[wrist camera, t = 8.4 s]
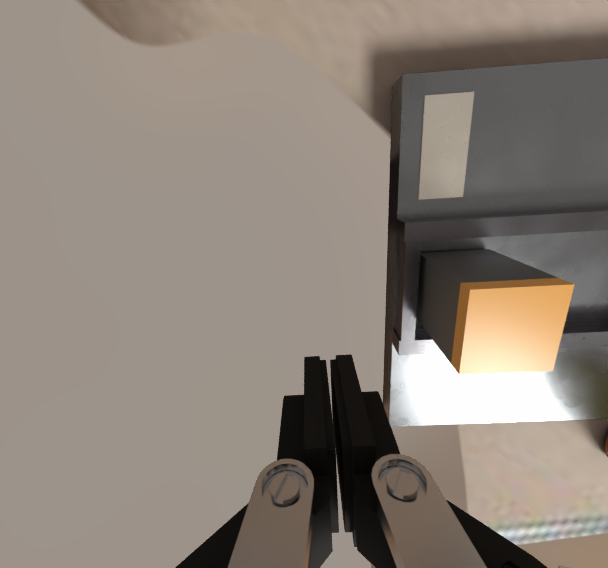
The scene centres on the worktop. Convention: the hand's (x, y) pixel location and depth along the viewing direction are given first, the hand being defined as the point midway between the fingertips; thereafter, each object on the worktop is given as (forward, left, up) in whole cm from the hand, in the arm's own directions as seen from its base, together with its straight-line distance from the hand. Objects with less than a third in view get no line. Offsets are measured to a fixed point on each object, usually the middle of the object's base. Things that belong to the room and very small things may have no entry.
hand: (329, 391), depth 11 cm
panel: (-1, +12, -11) cm, 16 cm away
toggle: (-1, +8, -8) cm, 11 cm away
